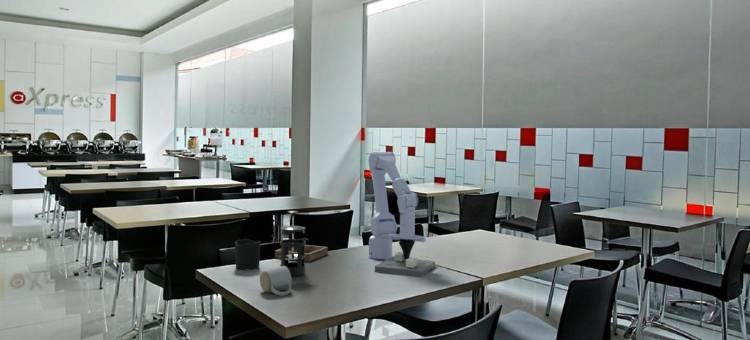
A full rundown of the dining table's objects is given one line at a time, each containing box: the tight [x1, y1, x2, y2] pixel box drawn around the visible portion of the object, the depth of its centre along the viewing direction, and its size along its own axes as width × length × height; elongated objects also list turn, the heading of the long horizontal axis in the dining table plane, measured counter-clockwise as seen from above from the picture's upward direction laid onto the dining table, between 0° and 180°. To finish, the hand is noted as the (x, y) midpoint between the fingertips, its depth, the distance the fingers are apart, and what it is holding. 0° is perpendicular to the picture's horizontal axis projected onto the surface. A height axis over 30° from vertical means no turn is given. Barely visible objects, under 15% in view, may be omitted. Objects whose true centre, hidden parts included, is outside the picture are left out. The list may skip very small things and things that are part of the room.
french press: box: [279, 210, 307, 278], centre depth 202 cm, size 12×9×23 cm
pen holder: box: [234, 239, 261, 271], centre depth 211 cm, size 9×9×10 cm
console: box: [374, 257, 436, 278], centre depth 212 cm, size 18×18×2 cm
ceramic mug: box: [259, 266, 292, 297], centre depth 178 cm, size 11×8×8 cm
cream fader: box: [406, 257, 418, 268], centre depth 207 cm, size 3×4×2 cm, turn 158°
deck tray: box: [274, 244, 329, 262], centre depth 233 cm, size 16×16×3 cm
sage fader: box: [394, 251, 405, 261], centre depth 217 cm, size 3×4×2 cm, turn 158°
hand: (406, 259), depth 216 cm, fingers closed
